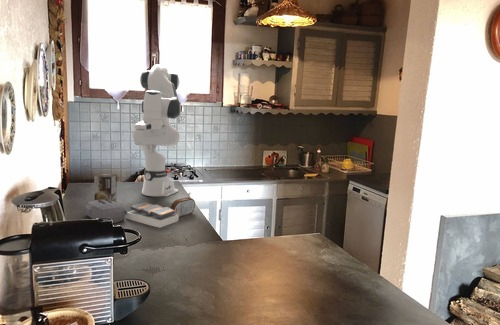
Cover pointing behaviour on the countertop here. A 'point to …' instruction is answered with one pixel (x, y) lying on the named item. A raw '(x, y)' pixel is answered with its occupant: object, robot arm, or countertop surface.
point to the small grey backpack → (105, 210)
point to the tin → (183, 206)
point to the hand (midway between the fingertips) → (151, 153)
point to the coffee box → (105, 187)
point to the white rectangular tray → (151, 218)
